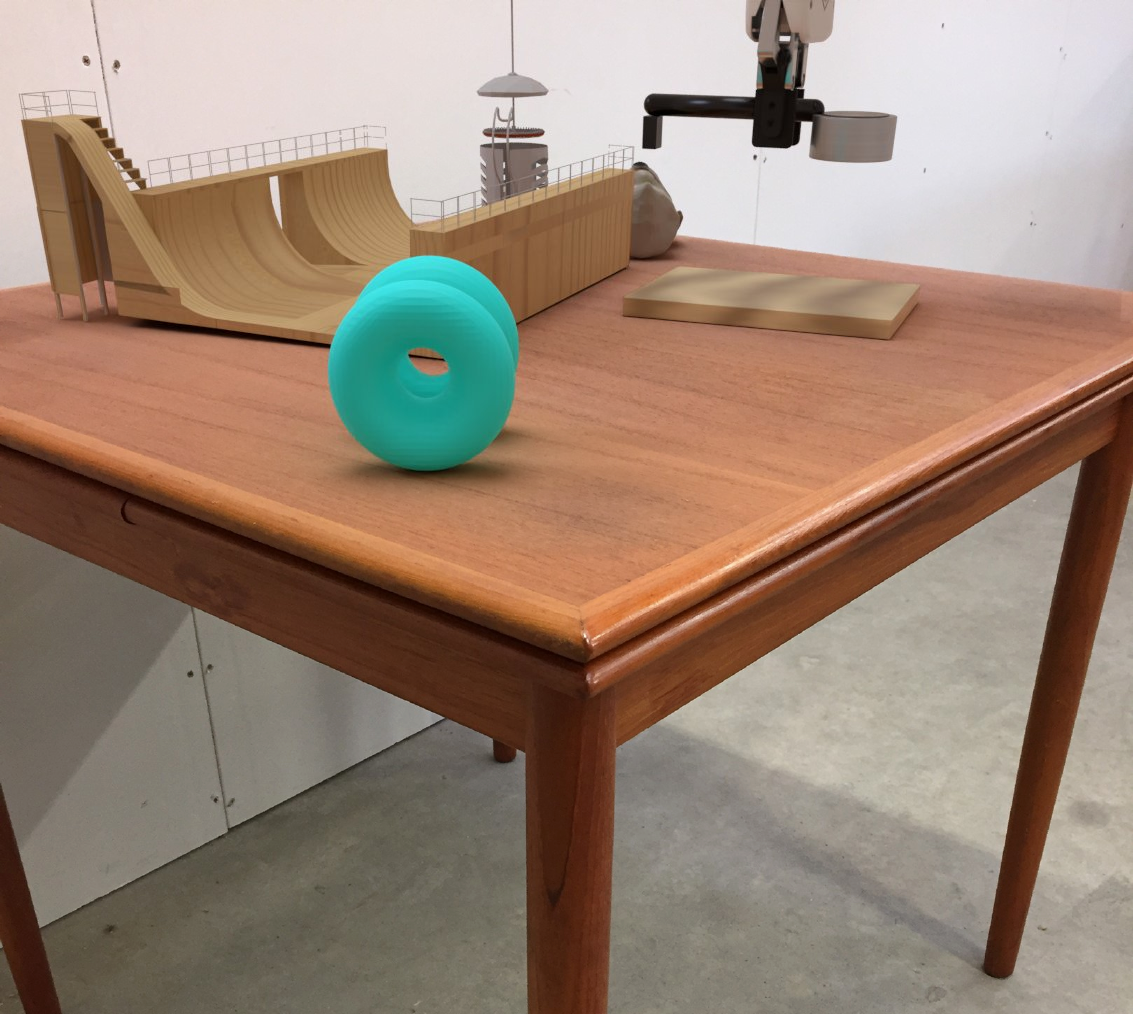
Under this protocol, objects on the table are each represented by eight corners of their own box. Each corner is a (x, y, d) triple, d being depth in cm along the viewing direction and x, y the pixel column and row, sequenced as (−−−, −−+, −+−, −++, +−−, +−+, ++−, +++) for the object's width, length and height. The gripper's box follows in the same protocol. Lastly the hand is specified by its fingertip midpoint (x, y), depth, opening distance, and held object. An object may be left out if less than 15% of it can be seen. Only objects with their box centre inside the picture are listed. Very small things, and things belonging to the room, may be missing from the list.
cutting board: (918, 302, 107) (920, 284, 106) (889, 339, 95) (892, 319, 94) (676, 283, 114) (677, 265, 113) (622, 315, 102) (622, 296, 101)
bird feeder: (564, 217, 148) (564, -29, 134) (544, 233, 138) (543, -31, 125) (484, 215, 149) (477, -29, 136) (459, 230, 139) (449, -31, 126)
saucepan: (897, 155, 98) (905, 98, 96) (884, 164, 93) (892, 104, 90) (654, 143, 104) (657, 90, 102) (629, 151, 99) (631, 95, 97)
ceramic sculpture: (593, 164, 117) (581, 157, 131) (591, 261, 122) (580, 245, 135) (703, 165, 118) (680, 158, 131) (698, 261, 122) (676, 245, 135)
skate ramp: (447, 373, 89) (441, 126, 81) (57, 317, 100) (15, 93, 91) (629, 276, 121) (639, 91, 112) (318, 241, 131) (305, 69, 123)
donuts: (333, 477, 67) (314, 285, 62) (358, 424, 75) (344, 250, 70) (515, 478, 67) (512, 286, 62) (521, 424, 75) (518, 251, 70)
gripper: (830, -152, 81) (799, 158, 90) (872, -131, 93) (841, 139, 103) (720, -148, 83) (702, 153, 93) (775, -129, 95) (754, 135, 105)
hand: (775, 144), depth 98 cm, fingers closed on saucepan
